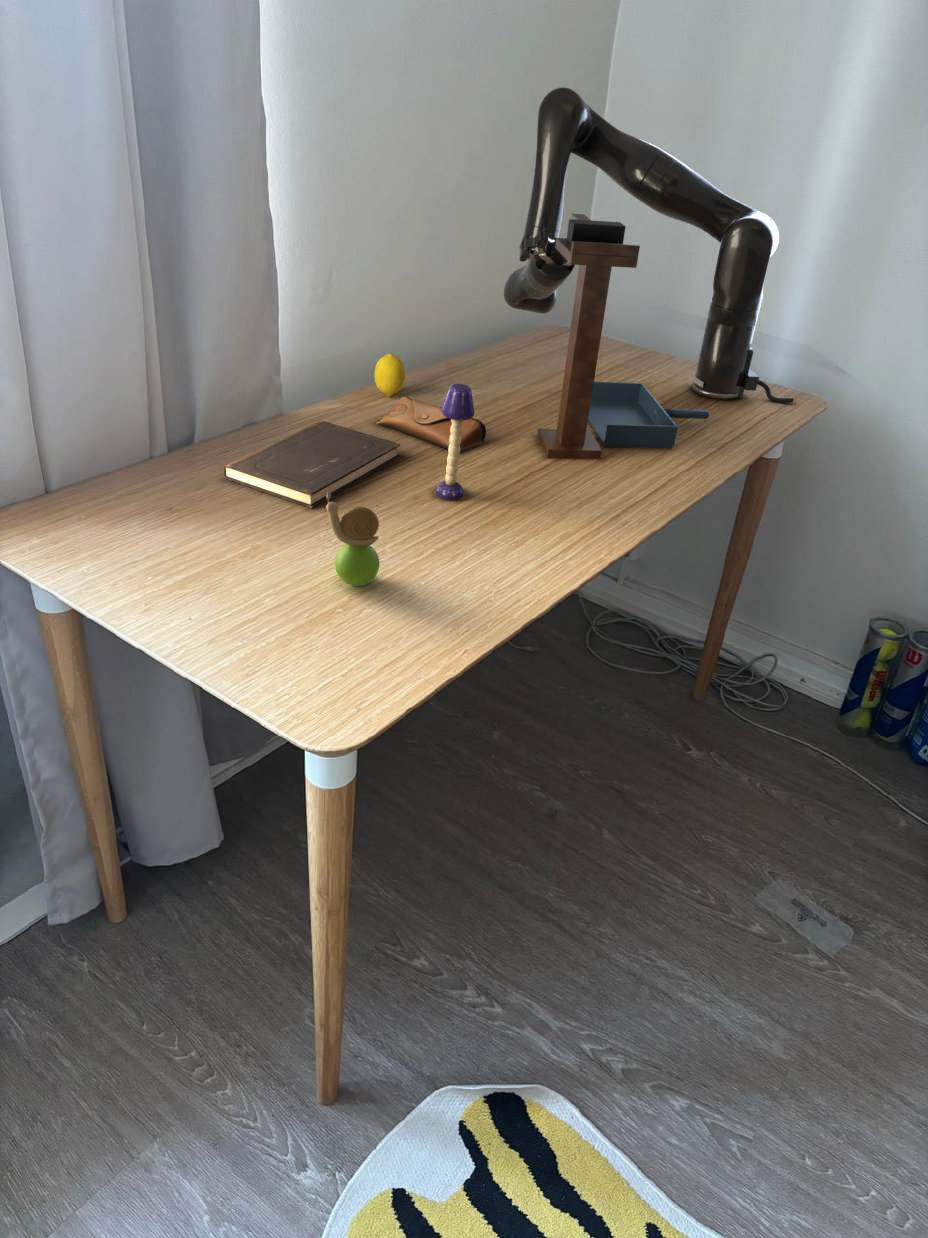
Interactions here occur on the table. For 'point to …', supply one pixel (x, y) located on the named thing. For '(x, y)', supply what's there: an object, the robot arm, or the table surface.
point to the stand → (584, 344)
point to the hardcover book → (313, 463)
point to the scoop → (634, 416)
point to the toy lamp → (455, 437)
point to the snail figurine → (355, 543)
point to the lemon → (389, 374)
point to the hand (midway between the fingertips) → (571, 235)
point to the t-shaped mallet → (594, 230)
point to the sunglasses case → (431, 424)
